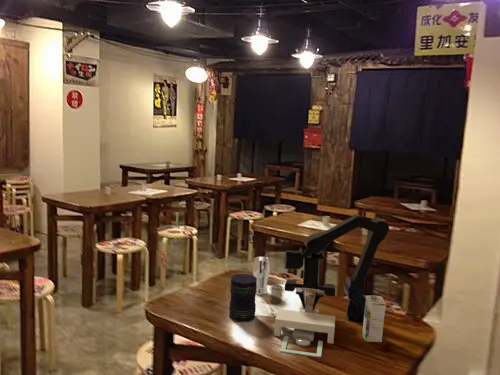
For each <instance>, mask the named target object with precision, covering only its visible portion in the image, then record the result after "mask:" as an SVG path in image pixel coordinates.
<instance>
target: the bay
mask: <svg viewBox="0 0 500 375" xmlns="http://www.w3.org/2000/svg"><path fill="white" fill-rule="evenodd" d="M289 337H290V336H288V335H284V337H283V340H282V343H281V347H280V349H279V352H280V353H286V354H291V355H301V356H306V357H313V358H318V359H319V358H322V353H323V342H324V341H323V340H318V341H317V348H316V352H315V353H314V352H306V351H300V350H295V349H294V350H292V349H288V348H287V345H288V343H289Z"/></svg>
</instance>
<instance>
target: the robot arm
mask: <svg viewBox="0 0 500 375" xmlns="http://www.w3.org/2000/svg"><path fill="white" fill-rule="evenodd" d="M357 228H362V229H364V230H367V236H366V237H367V238H366V242H365V244H364V246H363V249H362V252H361V254H360V256H359V260H358V262H357V265H356V268H355V269H354V273H353V274H352V275H351V276H348V275H346V278H345V282H344V283H343V291H344V294H345V295H346V296H347V298H348V299H349V303H347V304H346V305H347V306H346V308H347V309H346V317H347V320H348V321H351V322H360V323H363V322H364V313H365V304H366V295H364V293H365V289H366V288H365V287H366V278H367V275H368V273H369V271H370V268H371V265H372V263H373V260H374V258H375V255H376V253H377V250H378V248H379V245H380V244H381V243H382V242H383V241H384V240H385V239H386V237H387V235H388V233H389V231H390V226H389V224H388V222H386V221H385V220H383V219H381V218H380V217H374V218H373V217H372V218H371V217H367V216H363V215H360V214H353V215H351V216H350V217H348V218H347V219H345V220H344V221H341V222H339V223H337V224H336V225H334V226H332V227H330V228H329V229H326V230H324V231H320V232H316V233H313V234H309V235H307V237H305V239H304V241H303V242H304V243H303V244H302V245H301V247H299V249H298V251H297V250H294V251H293V250H285V253H284V257H283V268H284V270H300V276H299V278H300V279H302V283H297V282H298V281H297V279H290V278H289V279H287V280H286V281H285V284H284V292H285V291H286V292H294V291H295V295H298V297H299V299H300V301H301V306H302V308H303V309H305V299H306V295H305V294H306V290H308V291H315V293H314V304H313V310H314V309H315V308H316V306H317V303H318V302H319V300H320V299H321V298H324V295H325V296H327V297H335V296H336V287H337V286H336V284H334V283H333V284H332V283H324V284H325V285H319V283H320V262H321V260H326V257H325V255H324V254H323V252H322V251H323V250H324V249H325V248H326V247H327V246H328V245H329V244H330V243H332V242H333V241H335V240H337V239H339V238H341V237H342V236H344V235H346V234H348V233H349V232H352V231H354V230H355V229H357ZM302 267H303V269H302Z"/></svg>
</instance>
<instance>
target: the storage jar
mask: <svg viewBox="0 0 500 375" xmlns="http://www.w3.org/2000/svg"><path fill="white" fill-rule="evenodd" d="M229 286H230V287H229V288H230V289H229V292H230V301H229V305H228V311H229V315H228V317H229V319H230V320H231V321H233V322H237V323H249V322H253V321H254V320H255V318H256V310H257V309H256V305H257V304H256V295H257V294H256V292H257V291H256V289H257V278H256V277H255V276H254V275H252V274H245V273H238V274H234V275H232V276H231V277H230V285H229Z"/></svg>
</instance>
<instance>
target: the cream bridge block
mask: <svg viewBox="0 0 500 375" xmlns="http://www.w3.org/2000/svg"><path fill="white" fill-rule="evenodd" d="M283 328H286V329H287V328H288V329H293V330H294V329H302V330H309V331H315V332H316V333H317V332H318V333H319V332H320V333H326V334H327V342H326V343H328V344H334V341H335V340H334V339H335V328H336V316H335V315H330V314H322V313H321V314H320V313H318V314H314V313H306V312H299V311H297V310H289V309H281V308H279V309H278V311H277V313H276V315H275V320H274V333H273V334H274V337H281V334H282V329H283Z"/></svg>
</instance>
